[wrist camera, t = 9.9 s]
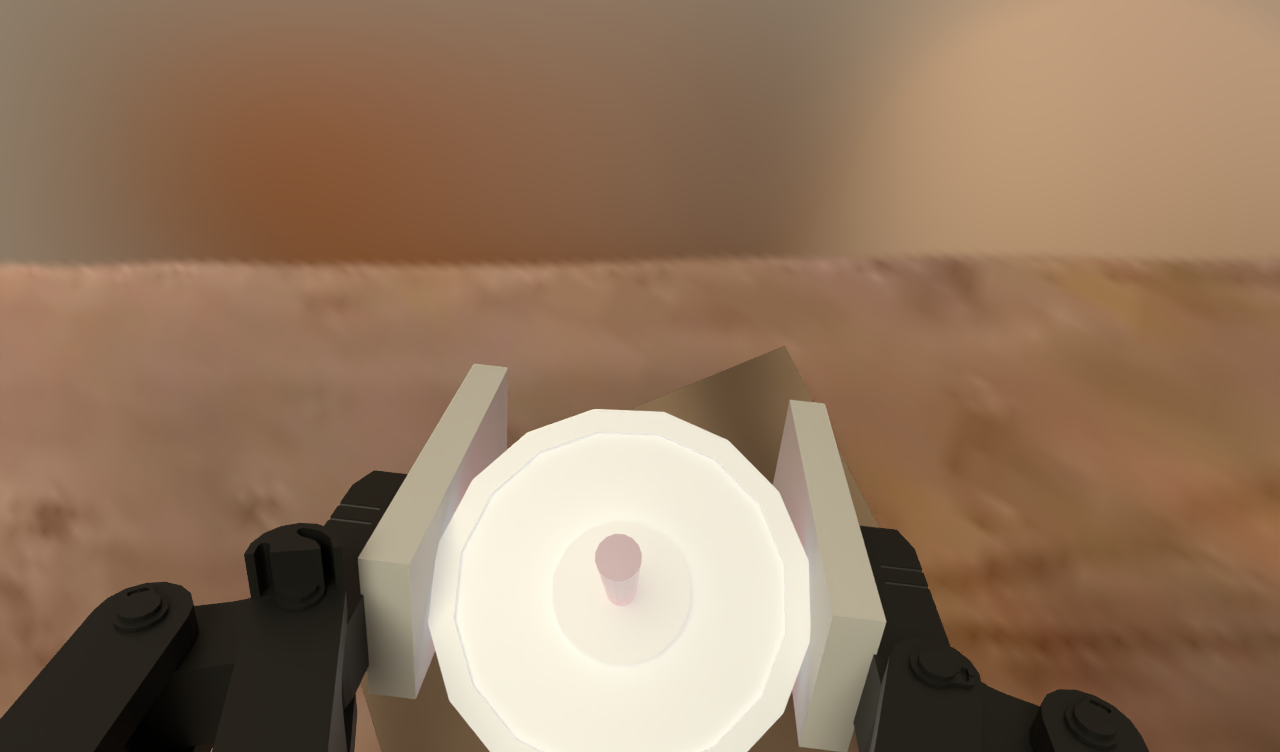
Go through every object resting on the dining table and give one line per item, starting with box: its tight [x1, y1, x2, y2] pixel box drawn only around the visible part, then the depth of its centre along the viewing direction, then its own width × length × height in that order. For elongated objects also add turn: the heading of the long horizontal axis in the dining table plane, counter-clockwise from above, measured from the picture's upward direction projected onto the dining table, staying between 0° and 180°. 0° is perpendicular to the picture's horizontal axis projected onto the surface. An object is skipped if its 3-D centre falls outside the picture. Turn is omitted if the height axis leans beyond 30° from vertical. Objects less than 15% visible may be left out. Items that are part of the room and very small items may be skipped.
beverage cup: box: [428, 409, 811, 752], centre depth 15 cm, size 6×6×14 cm
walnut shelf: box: [361, 346, 880, 752], centre depth 29 cm, size 18×14×5 cm
